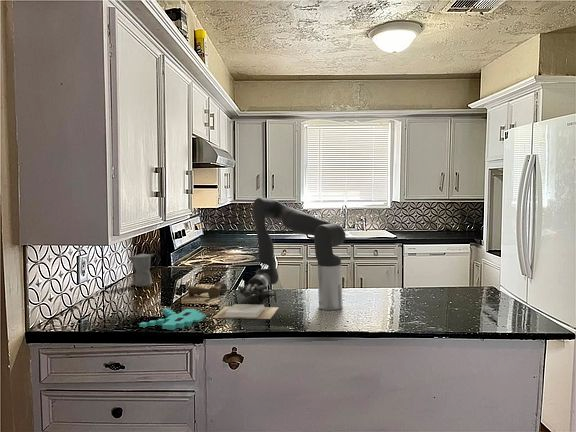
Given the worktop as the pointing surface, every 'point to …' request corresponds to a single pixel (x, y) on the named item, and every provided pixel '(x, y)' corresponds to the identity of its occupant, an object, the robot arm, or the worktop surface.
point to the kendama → (208, 290)
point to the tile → (245, 310)
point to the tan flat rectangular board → (265, 314)
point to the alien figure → (176, 319)
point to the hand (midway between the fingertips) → (246, 294)
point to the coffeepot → (143, 268)
